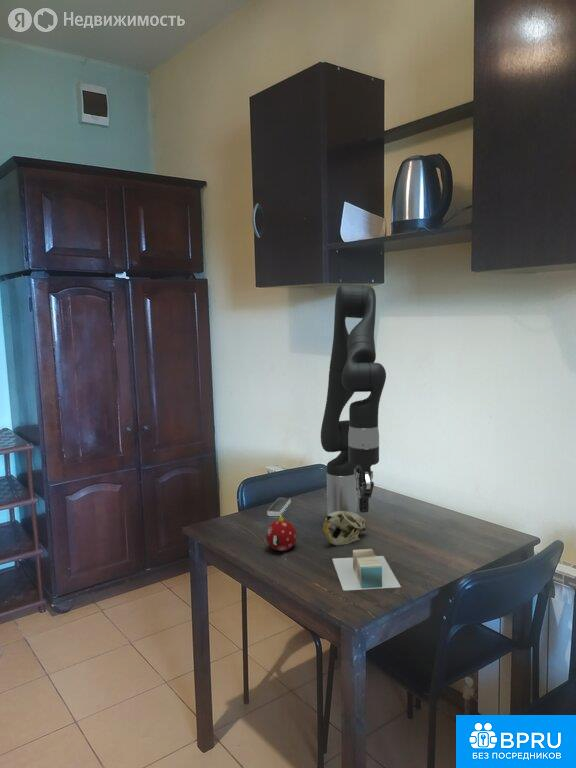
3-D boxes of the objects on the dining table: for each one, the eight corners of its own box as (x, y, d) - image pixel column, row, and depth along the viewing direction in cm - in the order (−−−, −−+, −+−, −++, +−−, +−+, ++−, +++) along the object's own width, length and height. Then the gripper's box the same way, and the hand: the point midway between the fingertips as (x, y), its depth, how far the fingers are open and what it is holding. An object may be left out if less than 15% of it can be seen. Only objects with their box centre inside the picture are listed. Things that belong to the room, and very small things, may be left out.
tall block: (352, 549, 148) (361, 568, 137) (371, 548, 148) (382, 567, 137) (353, 568, 148) (361, 588, 138) (372, 567, 149) (382, 587, 138)
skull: (307, 540, 164) (314, 506, 164) (342, 540, 175) (349, 507, 176) (333, 551, 157) (340, 515, 157) (367, 550, 168) (374, 516, 169)
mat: (332, 560, 155) (332, 558, 155) (383, 557, 156) (383, 555, 156) (343, 592, 137) (343, 590, 137) (401, 589, 138) (401, 587, 138)
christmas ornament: (302, 546, 165) (301, 513, 163) (288, 558, 157) (287, 523, 156) (275, 542, 168) (274, 509, 167) (261, 553, 161) (260, 518, 160)
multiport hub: (266, 517, 190) (266, 511, 189) (278, 503, 204) (278, 497, 203) (279, 518, 189) (279, 512, 188) (290, 504, 202) (290, 498, 202)
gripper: (344, 438, 147) (344, 503, 150) (353, 451, 134) (353, 522, 136) (373, 437, 148) (372, 501, 150) (385, 449, 135) (384, 520, 137)
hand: (363, 511), depth 143 cm, fingers closed
